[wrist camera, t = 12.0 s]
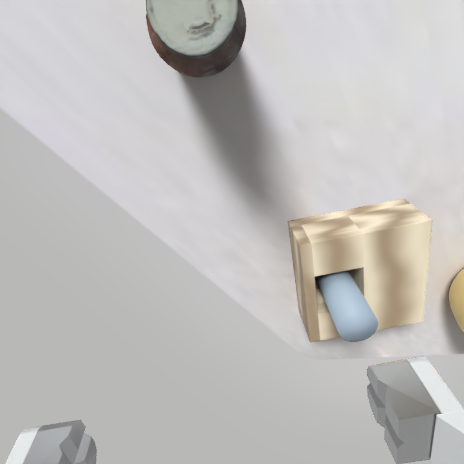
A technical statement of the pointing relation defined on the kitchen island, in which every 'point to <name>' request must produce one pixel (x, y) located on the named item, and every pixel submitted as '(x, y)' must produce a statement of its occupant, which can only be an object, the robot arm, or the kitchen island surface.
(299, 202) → the kitchen island surface
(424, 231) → the bore block
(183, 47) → the sauce bottle
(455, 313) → the pale yellow rounded lump
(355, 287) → the pin
